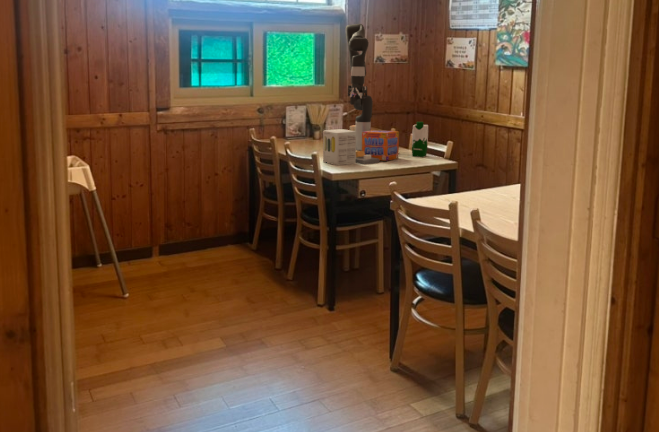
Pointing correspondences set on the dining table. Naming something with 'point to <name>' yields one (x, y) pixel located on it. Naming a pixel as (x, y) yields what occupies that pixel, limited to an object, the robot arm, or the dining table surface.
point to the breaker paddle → (360, 154)
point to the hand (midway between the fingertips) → (357, 104)
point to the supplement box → (339, 146)
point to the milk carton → (419, 140)
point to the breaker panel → (366, 159)
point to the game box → (381, 144)
